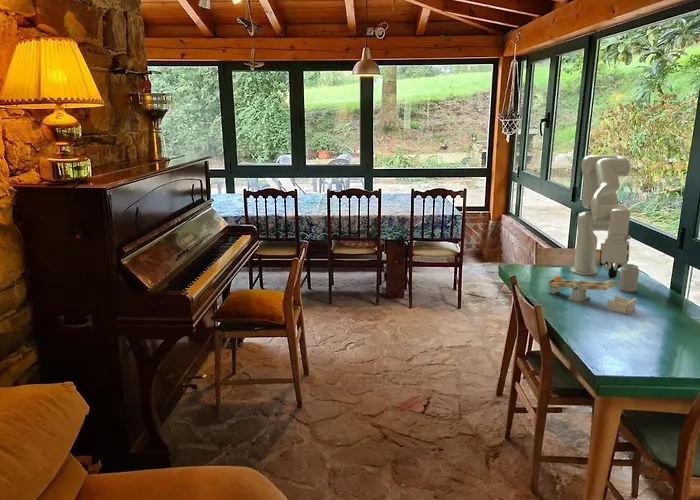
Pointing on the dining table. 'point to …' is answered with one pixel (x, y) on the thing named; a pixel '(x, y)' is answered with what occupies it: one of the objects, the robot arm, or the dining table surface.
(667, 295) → the dining table surface
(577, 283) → the lever
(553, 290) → the fulcrum
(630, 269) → the can
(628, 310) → the dish
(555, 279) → the ball
